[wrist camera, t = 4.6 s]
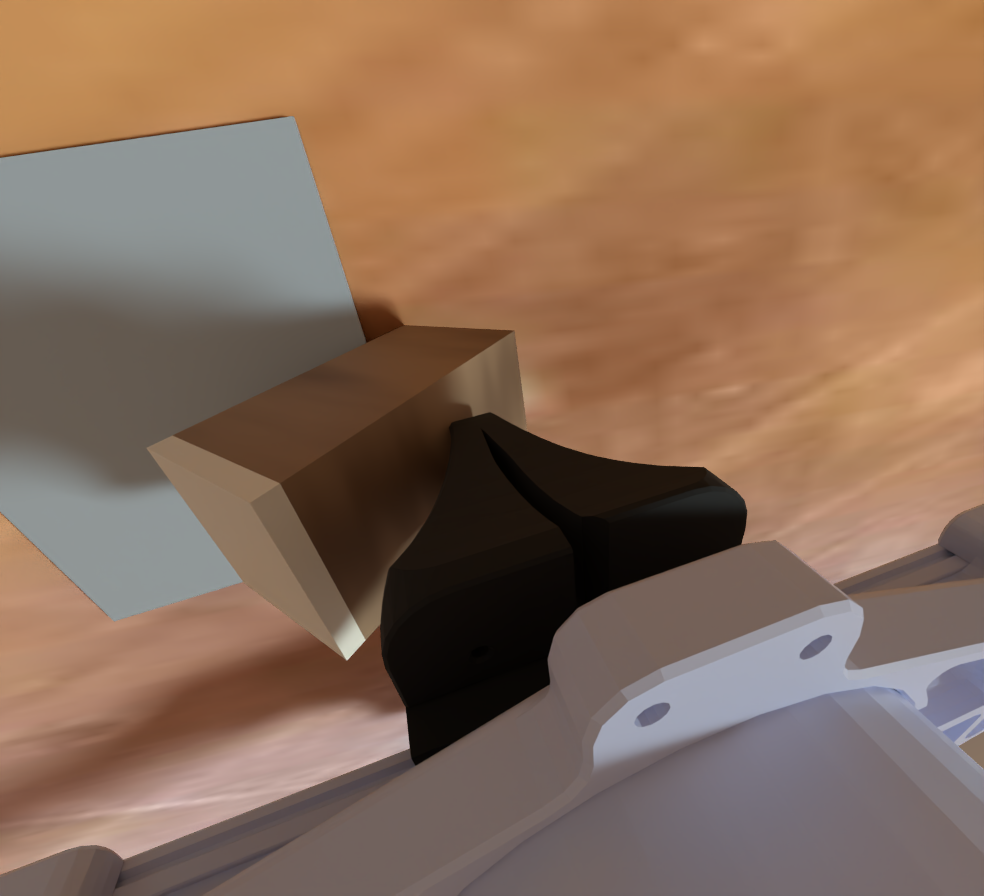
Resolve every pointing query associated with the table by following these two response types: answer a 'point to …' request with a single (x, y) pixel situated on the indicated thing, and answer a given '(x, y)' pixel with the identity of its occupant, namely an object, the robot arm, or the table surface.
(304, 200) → the rubber mat
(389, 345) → the walnut block
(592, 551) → the robot arm
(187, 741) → the table surface
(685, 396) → the table surface
